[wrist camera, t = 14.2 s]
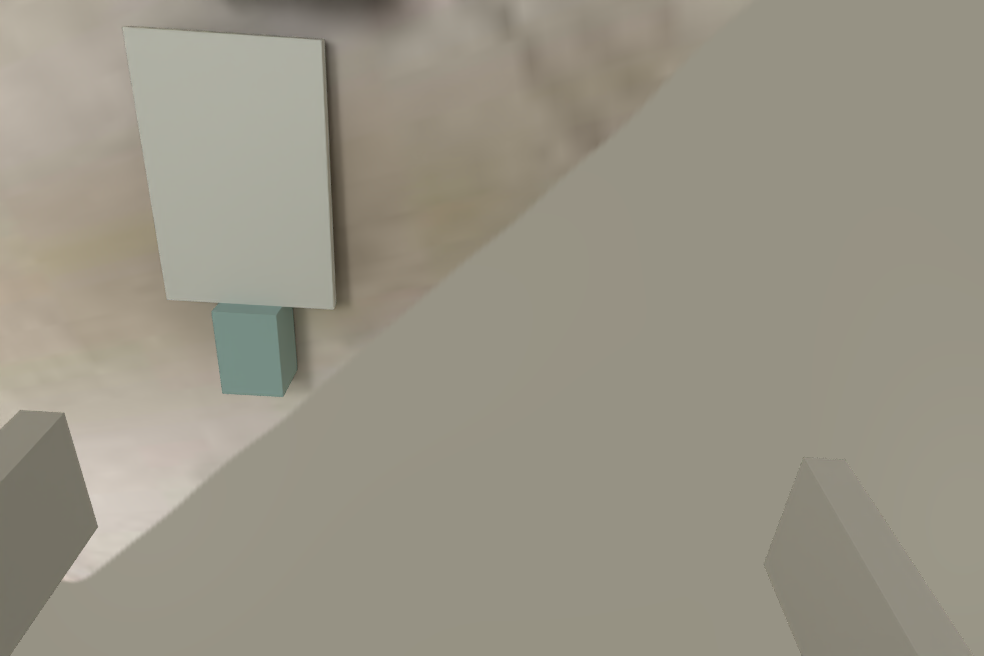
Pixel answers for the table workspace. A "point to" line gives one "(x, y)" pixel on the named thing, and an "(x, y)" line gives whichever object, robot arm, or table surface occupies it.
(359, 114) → the table surface
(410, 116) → the table surface
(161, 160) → the lid
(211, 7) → the table surface
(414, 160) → the table surface
